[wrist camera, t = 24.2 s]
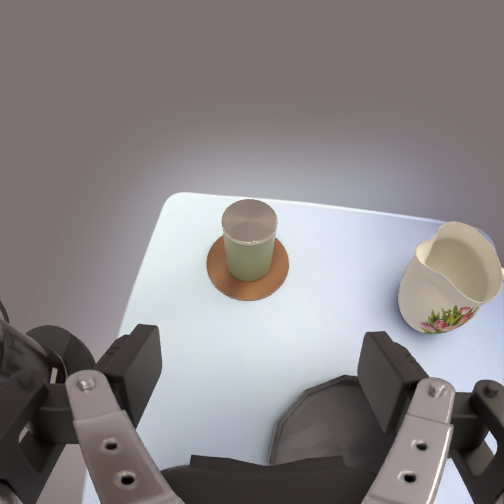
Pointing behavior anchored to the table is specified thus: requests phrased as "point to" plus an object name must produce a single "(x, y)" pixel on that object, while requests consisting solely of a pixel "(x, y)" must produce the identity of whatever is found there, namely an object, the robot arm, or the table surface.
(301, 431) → the pan
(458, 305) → the pitcher
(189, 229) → the table surface
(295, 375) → the table surface
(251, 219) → the tin
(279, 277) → the coaster
